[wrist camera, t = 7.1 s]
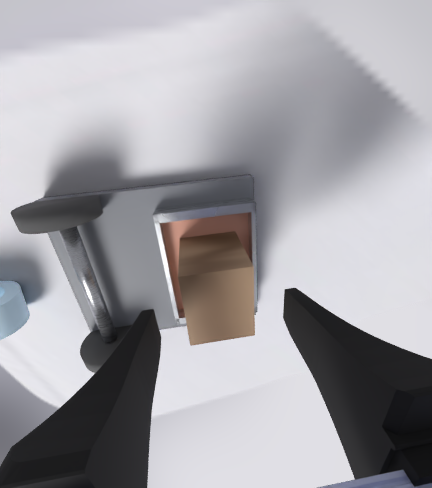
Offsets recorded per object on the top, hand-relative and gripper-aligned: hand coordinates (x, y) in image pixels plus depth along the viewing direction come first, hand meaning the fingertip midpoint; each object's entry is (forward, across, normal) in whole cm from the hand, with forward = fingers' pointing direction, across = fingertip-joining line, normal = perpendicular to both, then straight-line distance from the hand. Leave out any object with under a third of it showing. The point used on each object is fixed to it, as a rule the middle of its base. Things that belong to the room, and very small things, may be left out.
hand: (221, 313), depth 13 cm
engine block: (+6, 0, 0) cm, 6 cm away
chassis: (+7, +4, 0) cm, 8 cm away
